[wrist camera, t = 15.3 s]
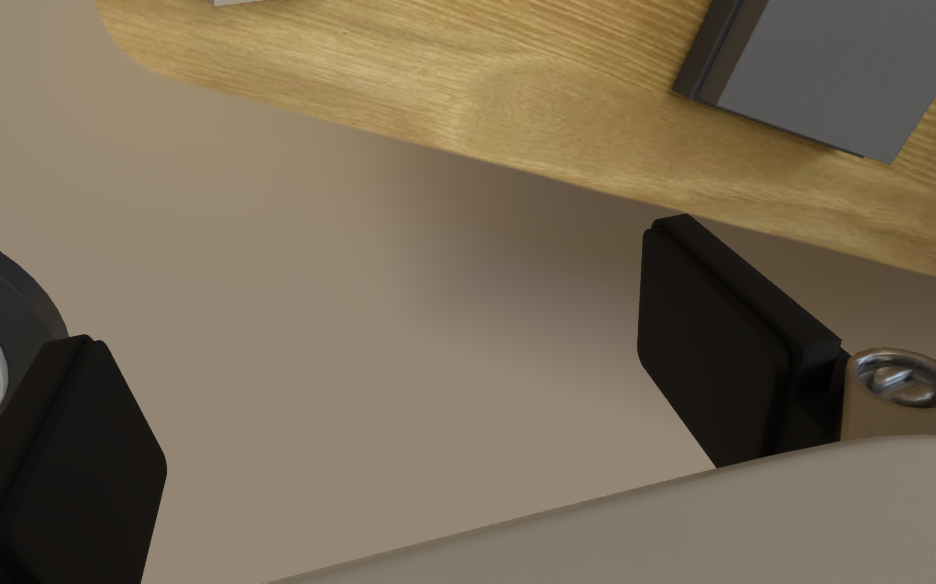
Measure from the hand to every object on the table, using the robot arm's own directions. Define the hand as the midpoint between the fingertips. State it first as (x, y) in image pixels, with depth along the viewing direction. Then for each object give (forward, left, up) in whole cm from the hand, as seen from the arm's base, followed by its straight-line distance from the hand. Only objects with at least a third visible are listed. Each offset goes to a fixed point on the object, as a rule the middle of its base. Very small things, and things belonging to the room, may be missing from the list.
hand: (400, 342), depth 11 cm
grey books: (+17, -24, -28) cm, 41 cm away
